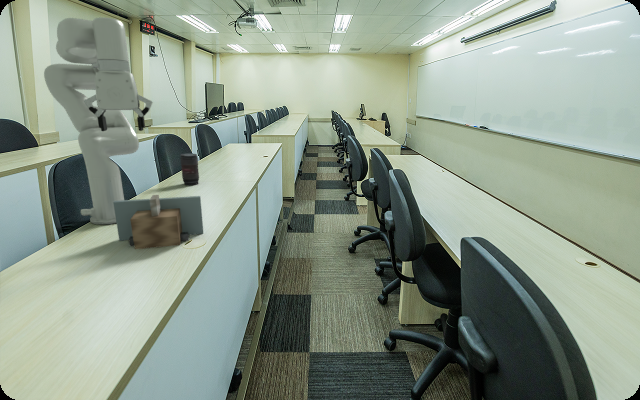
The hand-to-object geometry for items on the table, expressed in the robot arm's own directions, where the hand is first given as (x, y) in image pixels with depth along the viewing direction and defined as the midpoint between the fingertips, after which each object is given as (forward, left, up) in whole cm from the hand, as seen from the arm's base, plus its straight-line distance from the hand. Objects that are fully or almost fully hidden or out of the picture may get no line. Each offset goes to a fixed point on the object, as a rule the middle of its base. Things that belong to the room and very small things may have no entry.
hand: (123, 130), depth 102 cm
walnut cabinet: (+8, -9, -32) cm, 34 cm away
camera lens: (+11, +69, -32) cm, 77 cm away
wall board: (+8, -4, -32) cm, 33 cm away
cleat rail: (+8, -9, -32) cm, 34 cm away
